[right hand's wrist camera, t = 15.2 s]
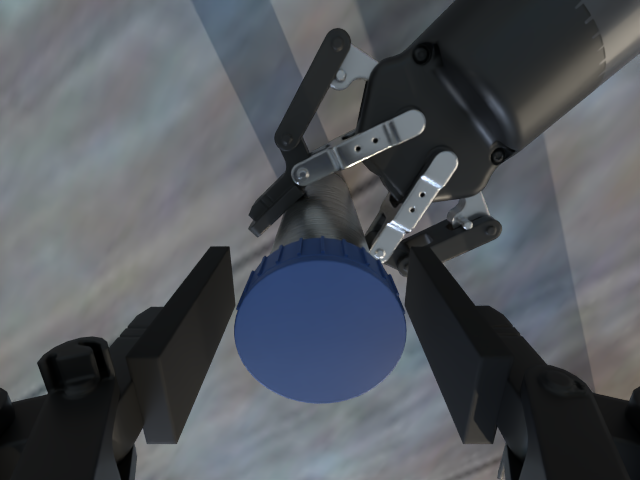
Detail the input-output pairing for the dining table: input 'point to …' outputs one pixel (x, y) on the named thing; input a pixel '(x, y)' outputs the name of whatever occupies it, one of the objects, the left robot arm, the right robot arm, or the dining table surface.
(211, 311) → the right robot arm
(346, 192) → the jar
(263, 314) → the lid
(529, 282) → the dining table surface
